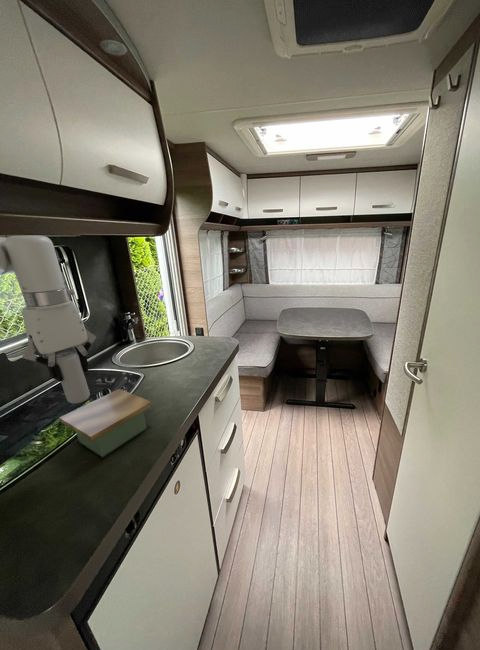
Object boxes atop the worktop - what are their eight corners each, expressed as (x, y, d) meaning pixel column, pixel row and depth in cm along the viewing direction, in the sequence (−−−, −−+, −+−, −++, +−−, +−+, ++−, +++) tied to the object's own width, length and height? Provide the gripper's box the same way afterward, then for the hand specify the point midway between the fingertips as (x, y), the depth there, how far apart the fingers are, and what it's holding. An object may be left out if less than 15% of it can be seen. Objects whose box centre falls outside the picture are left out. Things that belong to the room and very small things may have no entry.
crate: (79, 443, 81) (71, 420, 78) (123, 417, 92) (118, 396, 89) (103, 458, 75) (95, 434, 72) (147, 429, 86) (142, 407, 83)
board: (60, 422, 77) (58, 417, 77) (120, 392, 91) (119, 388, 91) (92, 441, 69) (90, 436, 69) (152, 406, 83) (151, 401, 83)
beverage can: (71, 395, 70) (57, 351, 65) (93, 392, 71) (80, 349, 66) (64, 406, 65) (48, 359, 61) (87, 402, 66) (73, 356, 62)
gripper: (80, 290, 67) (98, 359, 74) (-12, 304, 54) (21, 386, 61) (97, 293, 63) (114, 365, 70) (3, 309, 50) (36, 395, 57)
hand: (71, 374), depth 66 cm, fingers closed on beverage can, 4 cm apart
